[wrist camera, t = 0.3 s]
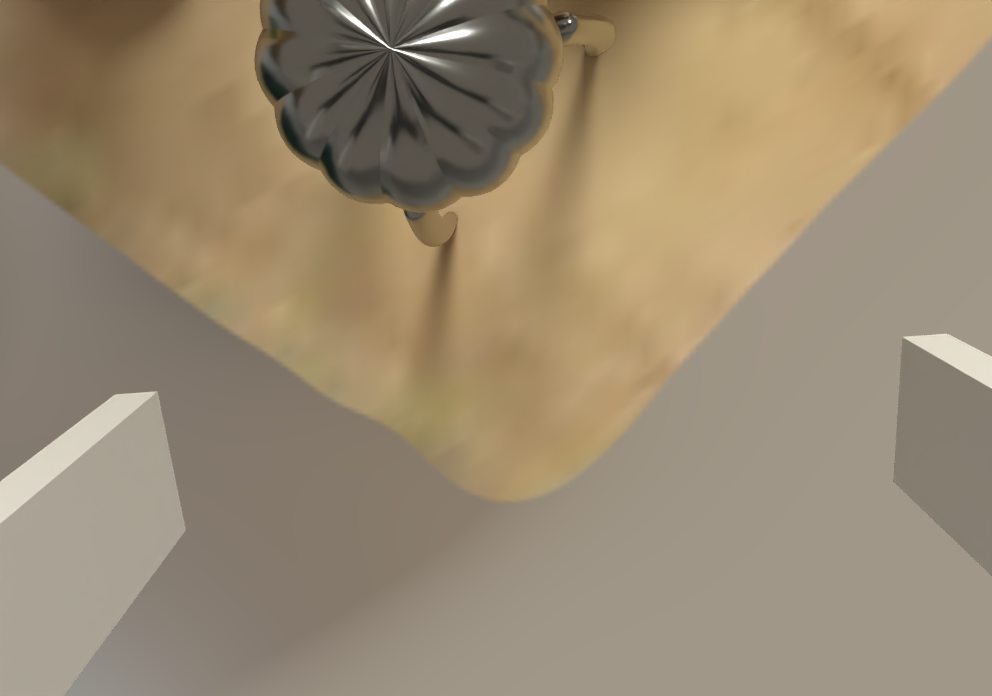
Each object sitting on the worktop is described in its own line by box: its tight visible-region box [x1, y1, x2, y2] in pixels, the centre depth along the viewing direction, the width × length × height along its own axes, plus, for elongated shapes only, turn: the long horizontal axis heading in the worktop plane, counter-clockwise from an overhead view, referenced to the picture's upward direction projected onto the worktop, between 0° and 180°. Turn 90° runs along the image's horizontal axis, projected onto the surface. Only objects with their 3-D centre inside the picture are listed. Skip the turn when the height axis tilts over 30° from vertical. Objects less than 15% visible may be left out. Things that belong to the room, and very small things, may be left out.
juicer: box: [254, 0, 616, 247], centre depth 25 cm, size 10×11×30 cm
